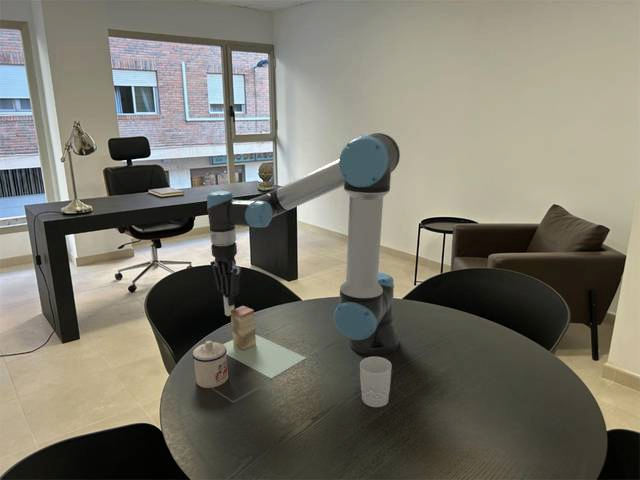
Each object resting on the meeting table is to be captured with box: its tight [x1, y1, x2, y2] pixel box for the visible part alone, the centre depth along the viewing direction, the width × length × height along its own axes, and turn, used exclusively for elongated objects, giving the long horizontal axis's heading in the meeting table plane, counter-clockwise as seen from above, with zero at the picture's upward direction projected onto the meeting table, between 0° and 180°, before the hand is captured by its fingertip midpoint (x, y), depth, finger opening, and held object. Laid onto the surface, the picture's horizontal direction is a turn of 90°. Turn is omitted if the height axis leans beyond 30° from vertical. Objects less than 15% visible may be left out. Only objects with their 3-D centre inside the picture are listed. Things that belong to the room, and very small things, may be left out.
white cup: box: [359, 356, 393, 408], centre depth 116 cm, size 8×8×10 cm
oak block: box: [230, 305, 256, 351], centre depth 143 cm, size 5×5×12 cm
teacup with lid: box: [192, 340, 229, 389], centre depth 127 cm, size 12×9×12 cm
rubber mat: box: [223, 333, 307, 381], centre depth 140 cm, size 26×14×1 cm, turn 48°
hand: (230, 314), depth 147 cm, fingers closed
